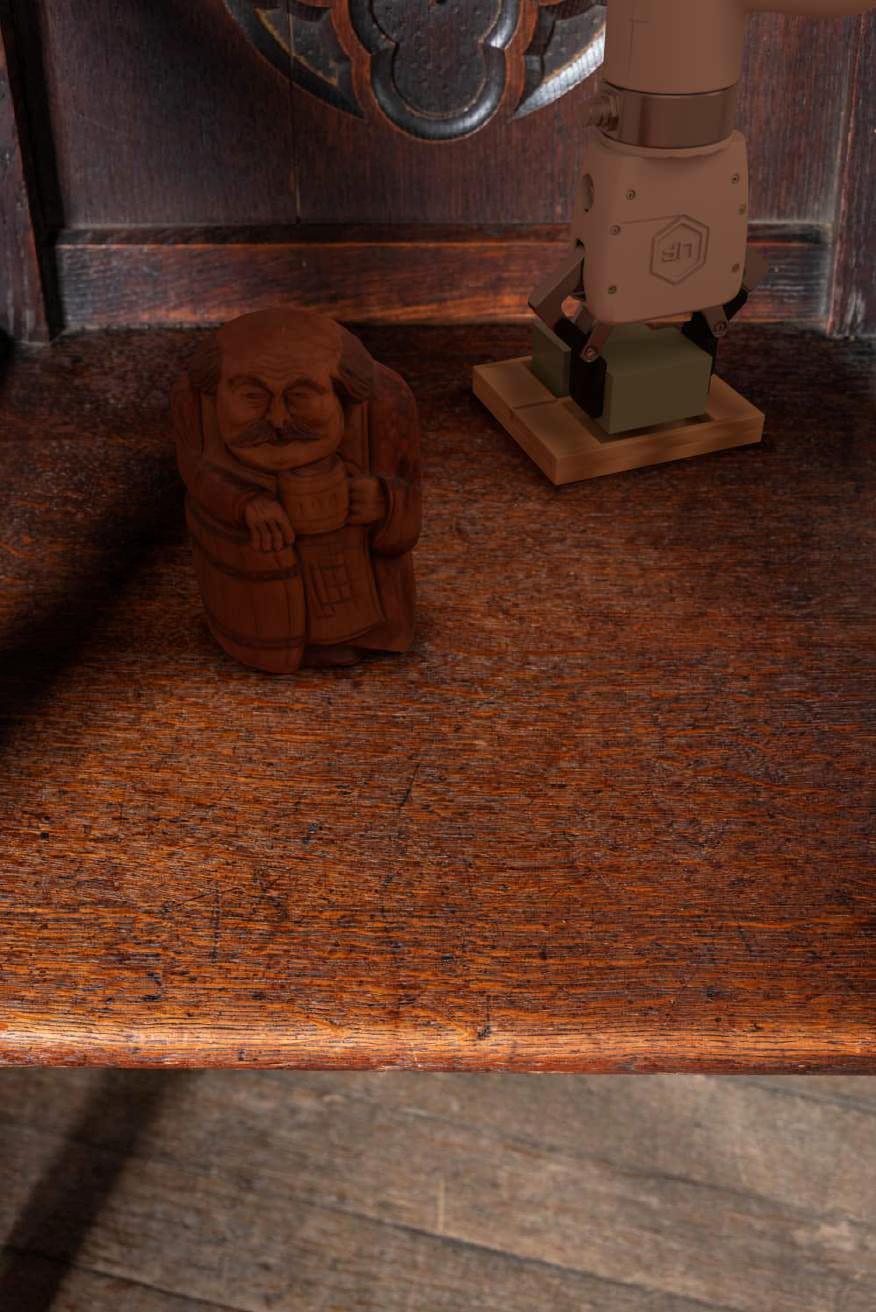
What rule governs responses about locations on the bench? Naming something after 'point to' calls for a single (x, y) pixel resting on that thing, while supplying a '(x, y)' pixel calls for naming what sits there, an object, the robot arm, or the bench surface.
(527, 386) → the frame
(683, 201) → the robot arm
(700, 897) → the bench surface
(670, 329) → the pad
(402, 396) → the wooden figurine
